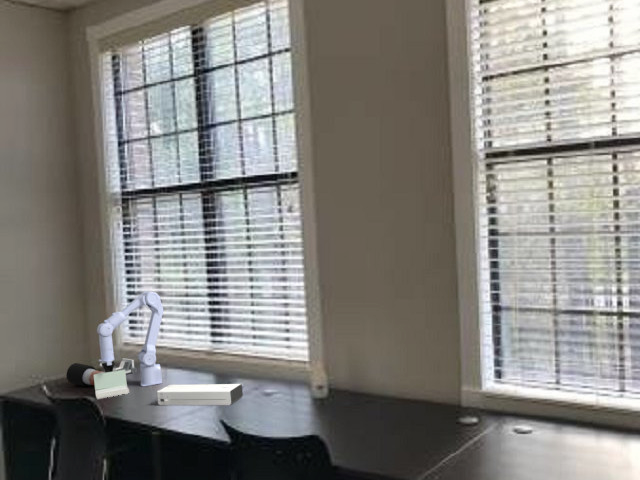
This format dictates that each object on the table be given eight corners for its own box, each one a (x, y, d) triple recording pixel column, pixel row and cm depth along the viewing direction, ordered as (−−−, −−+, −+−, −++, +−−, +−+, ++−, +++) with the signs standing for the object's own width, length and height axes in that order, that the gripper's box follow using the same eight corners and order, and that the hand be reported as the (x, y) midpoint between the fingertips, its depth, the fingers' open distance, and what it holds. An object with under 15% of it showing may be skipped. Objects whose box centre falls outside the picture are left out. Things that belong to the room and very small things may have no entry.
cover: (126, 385, 324) (126, 385, 325) (125, 369, 324) (125, 369, 325) (95, 391, 319) (95, 390, 319) (93, 374, 319) (93, 374, 320)
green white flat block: (127, 390, 324) (126, 385, 324) (129, 393, 317) (128, 388, 317) (95, 396, 319) (95, 390, 319) (97, 399, 312) (96, 393, 312)
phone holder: (103, 361, 350) (92, 359, 358) (105, 380, 351) (94, 378, 359) (135, 354, 363) (124, 352, 371) (137, 372, 363) (125, 370, 372)
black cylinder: (120, 399, 327) (111, 383, 322) (71, 387, 345) (63, 372, 340) (133, 384, 334) (126, 368, 330) (85, 374, 352) (77, 358, 347)
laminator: (243, 398, 293) (241, 383, 293) (230, 406, 282) (229, 391, 281) (171, 398, 304) (169, 384, 303) (156, 406, 292) (154, 392, 292)
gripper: (96, 348, 329) (99, 376, 330) (98, 352, 316) (101, 382, 316) (111, 345, 332) (114, 374, 332) (115, 350, 318) (118, 379, 319)
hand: (109, 378), depth 324 cm, fingers closed
